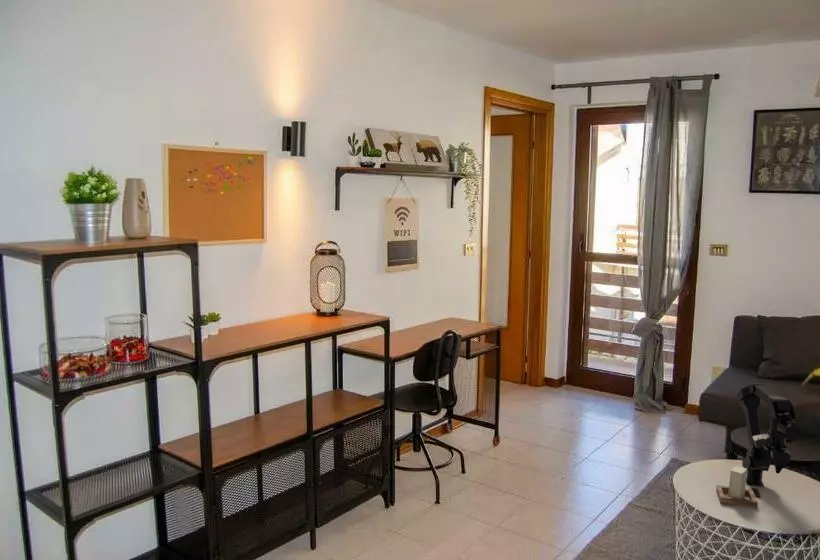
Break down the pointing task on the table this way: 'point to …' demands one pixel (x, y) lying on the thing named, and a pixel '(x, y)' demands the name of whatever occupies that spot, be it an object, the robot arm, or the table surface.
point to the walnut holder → (747, 501)
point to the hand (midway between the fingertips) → (774, 468)
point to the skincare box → (737, 482)
